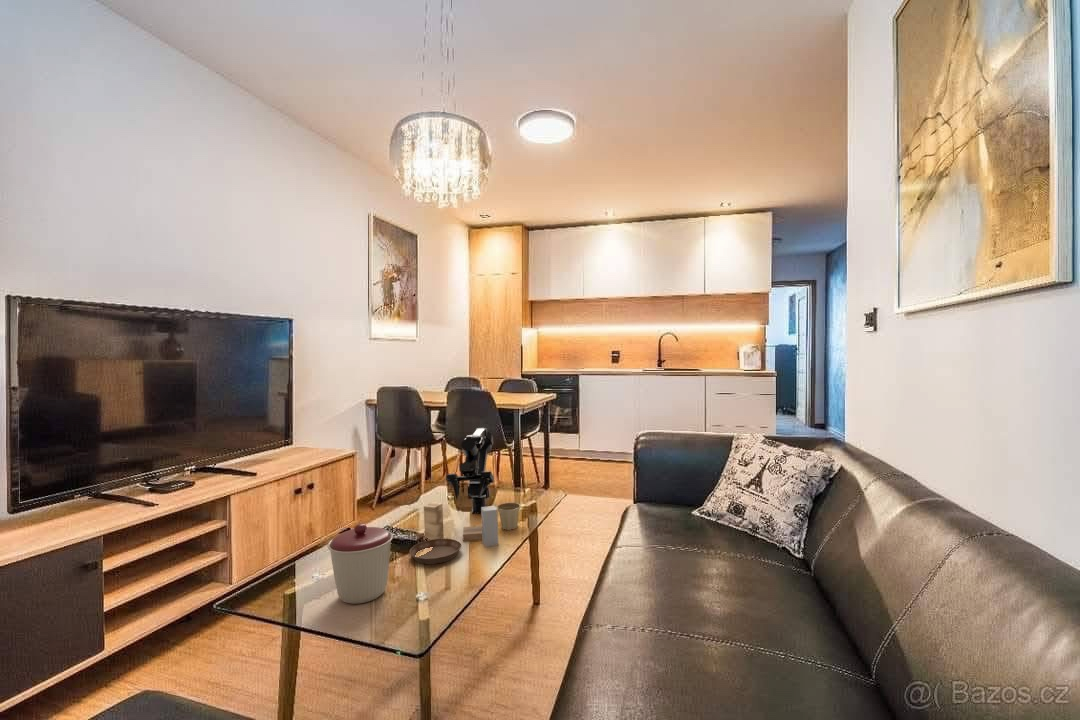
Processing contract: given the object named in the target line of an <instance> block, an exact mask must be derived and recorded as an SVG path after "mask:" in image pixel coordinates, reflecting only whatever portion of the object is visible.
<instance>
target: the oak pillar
mask: <svg viewBox="0 0 1080 720" xmlns="http://www.w3.org/2000/svg"><path fill="white" fill-rule="evenodd" d="M443 507H444V505H443V502H440V503H439V502H435V501H434V502H432V501H431V502H429V503H427V504H425V505H424V506H423V521H424V524H423V525H424V538H425V537H427V538H428V539H430V540H433V539H441V538H442V539H444V533H445V532H444V508H443Z"/></svg>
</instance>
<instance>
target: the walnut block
mask: <svg viewBox="0 0 1080 720" xmlns="http://www.w3.org/2000/svg"><path fill="white" fill-rule="evenodd" d="M462 529H463V531H462V542H475V541H482V525H475V526H473V525H472V526H464V527H463V528H462Z"/></svg>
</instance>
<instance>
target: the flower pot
mask: <svg viewBox="0 0 1080 720" xmlns="http://www.w3.org/2000/svg"><path fill="white" fill-rule="evenodd" d="M520 508H521V504H520V503H517V502H503V503H499V504H497V506H496V509H497V512H498V513H499V514H498V515H499V517H500V518H499V519H500V524H501V529H502V530H504V529H505V530H508V531H511V529H513V530H515V529H514V528H516V529H517V528H518V523H519V513H520ZM505 530H504V531H505Z"/></svg>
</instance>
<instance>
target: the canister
mask: <svg viewBox="0 0 1080 720" xmlns="http://www.w3.org/2000/svg"><path fill="white" fill-rule="evenodd" d="M393 539H394V534H393V533H392V532H391V530H390V531H389V530H387V529H385V528H383V527H378V526H377V527H376V526H367V525H366V524H365V523H357V524H356V525H355V526H354V527H353V529H349V530H346V531H343V532H341V533H339V534H337V535H336V536H334V538H332V539H330V541H328V543H327V549H328V550H329V551H330V559H331V564H332V571H333V577H334V583H335V587H336V588H335V589H336V592H337V595H338V597H339V598H340V600H341V601H343V602H344V603H346V604H347V603H348V604H351V605H352V604H353V605H354V604H357V605H359V604H364V603H368V602H371V601H373V600H375V599H377V598H379V597H380V596H381V595H382V594H384V592H385V590H386V588H387V585H388V579H389V571H390V558H391V557H390V554H391V543H392V542H391V541H392V540H393Z"/></svg>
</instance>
